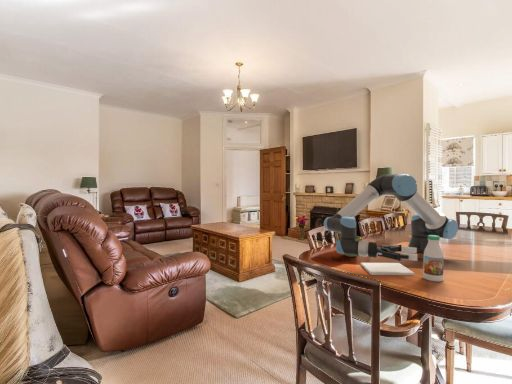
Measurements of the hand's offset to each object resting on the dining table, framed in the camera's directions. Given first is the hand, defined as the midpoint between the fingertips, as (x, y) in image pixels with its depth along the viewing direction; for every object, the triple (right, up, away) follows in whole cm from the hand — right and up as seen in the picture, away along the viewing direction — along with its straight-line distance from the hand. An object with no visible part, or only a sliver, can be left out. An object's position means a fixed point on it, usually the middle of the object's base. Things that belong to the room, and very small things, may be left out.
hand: (417, 254), depth 131 cm
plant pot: (-18, -10, +39) cm, 44 cm away
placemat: (-9, -10, +12) cm, 18 cm away
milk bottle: (+6, -11, -2) cm, 13 cm away
